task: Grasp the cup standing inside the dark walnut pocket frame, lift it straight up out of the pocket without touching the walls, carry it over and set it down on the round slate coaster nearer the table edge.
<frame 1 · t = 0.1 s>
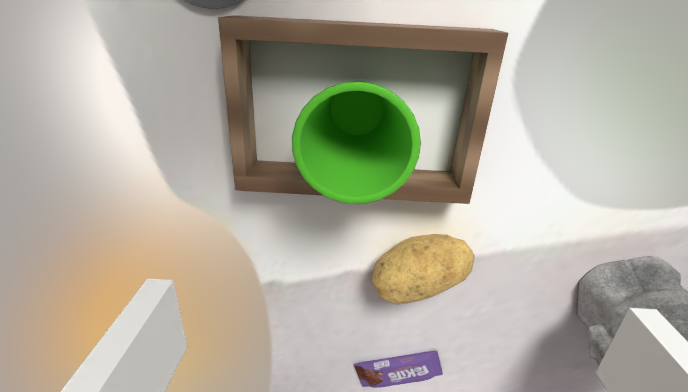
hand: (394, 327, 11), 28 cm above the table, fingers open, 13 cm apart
snack package: (397, 362, 54), on the table
cup: (357, 107, 36), resting in pocket frame
pocket frame: (357, 108, 36), on the table
potato: (417, 248, 44), on the table
figurine: (621, 288, 45), on the table
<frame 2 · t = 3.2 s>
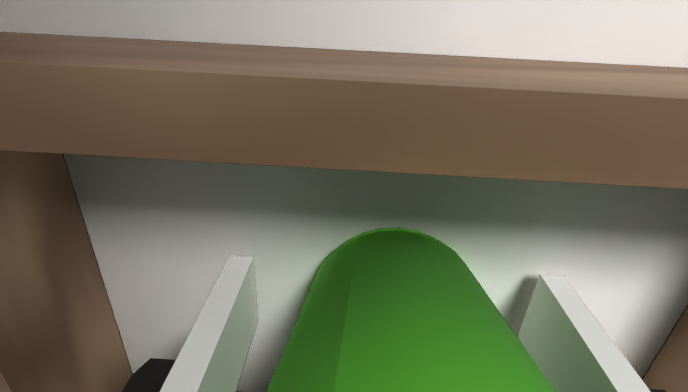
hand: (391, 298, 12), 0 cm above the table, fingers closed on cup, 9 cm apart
cup: (390, 284, 13), resting in pocket frame, touching gripper
pocket frame: (390, 287, 13), on the table
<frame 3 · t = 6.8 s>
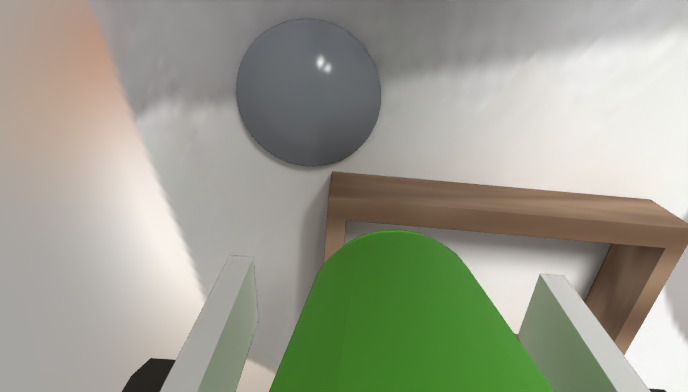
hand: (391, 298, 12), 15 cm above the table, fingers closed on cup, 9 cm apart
coaster: (309, 96, 24), on the table
cup: (390, 286, 13), point 14 cm above the table, touching gripper
pocket frame: (467, 272, 30), on the table
when the fingers open (3 cm above the table, at t = 10.4 s): cup drops 2 cm, resting on coaster.
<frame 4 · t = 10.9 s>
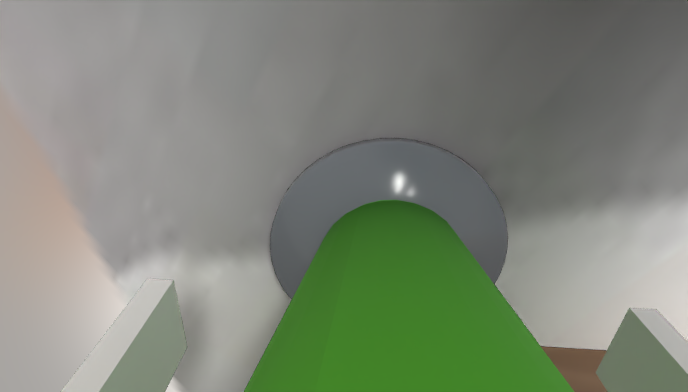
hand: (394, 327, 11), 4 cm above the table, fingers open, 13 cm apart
coaster: (385, 246, 15), on the table
cup: (389, 253, 15), resting on coaster
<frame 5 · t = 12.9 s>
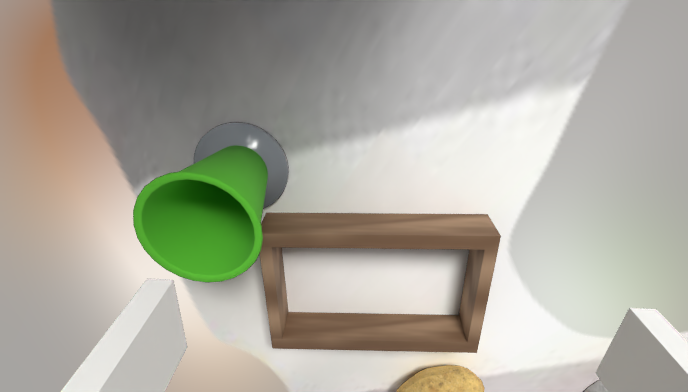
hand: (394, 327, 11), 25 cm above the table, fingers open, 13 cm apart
coaster: (242, 167, 37), on the table
cup: (242, 169, 36), resting on coaster
pocket frame: (373, 272, 42), on the table
potato: (433, 371, 49), on the table
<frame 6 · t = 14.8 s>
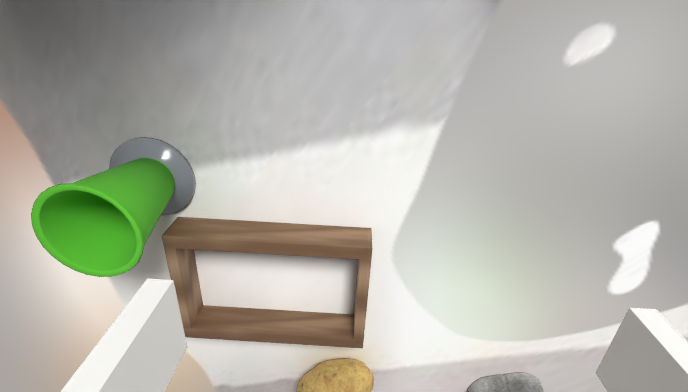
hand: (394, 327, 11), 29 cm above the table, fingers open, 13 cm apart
coaster: (154, 176, 41), on the table
cup: (153, 178, 41), resting on coaster
pocket frame: (276, 274, 47), on the table
potato: (336, 363, 55), on the table
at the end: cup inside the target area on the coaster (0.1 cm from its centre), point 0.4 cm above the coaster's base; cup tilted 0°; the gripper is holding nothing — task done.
